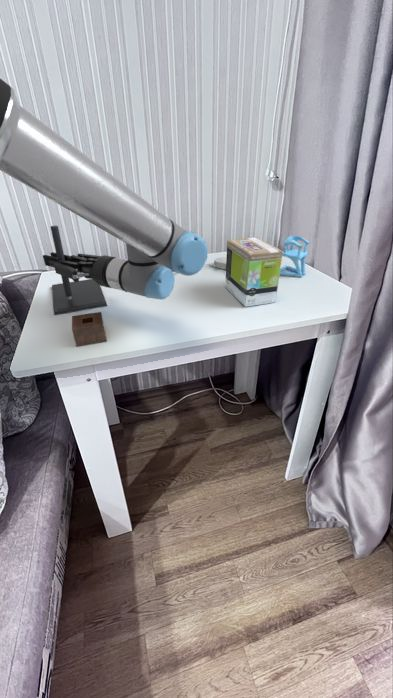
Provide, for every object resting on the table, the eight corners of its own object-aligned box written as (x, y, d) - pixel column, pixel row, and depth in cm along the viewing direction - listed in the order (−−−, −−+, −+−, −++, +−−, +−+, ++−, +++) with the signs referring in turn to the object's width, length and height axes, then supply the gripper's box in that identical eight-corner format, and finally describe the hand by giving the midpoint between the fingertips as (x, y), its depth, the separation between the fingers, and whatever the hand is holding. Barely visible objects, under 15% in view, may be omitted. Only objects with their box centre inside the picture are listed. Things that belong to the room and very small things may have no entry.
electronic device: (220, 236, 113) (257, 242, 105) (220, 263, 119) (255, 271, 111) (210, 239, 110) (248, 246, 102) (211, 267, 115) (247, 275, 107)
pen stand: (76, 346, 74) (71, 329, 71) (76, 332, 79) (71, 315, 76) (106, 341, 75) (103, 324, 73) (104, 327, 81) (101, 311, 78)
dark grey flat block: (52, 287, 102) (51, 284, 101) (97, 280, 106) (97, 277, 105) (54, 315, 86) (53, 311, 86) (107, 305, 91) (106, 302, 90)
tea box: (277, 302, 91) (284, 250, 82) (244, 308, 88) (248, 254, 80) (253, 283, 103) (257, 235, 94) (224, 287, 100) (225, 238, 92)
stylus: (65, 300, 91) (49, 226, 80) (67, 298, 93) (51, 225, 82) (71, 300, 91) (56, 227, 80) (74, 298, 93) (59, 225, 82)
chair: (298, 279, 104) (304, 242, 97) (275, 274, 108) (279, 237, 102) (308, 272, 109) (315, 236, 102) (285, 267, 113) (290, 232, 107)
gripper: (96, 298, 75) (29, 281, 85) (135, 277, 86) (72, 263, 96) (89, 267, 71) (20, 252, 81) (132, 249, 82) (66, 238, 91)
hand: (48, 258), depth 88 cm, fingers closed on stylus, 2 cm apart
